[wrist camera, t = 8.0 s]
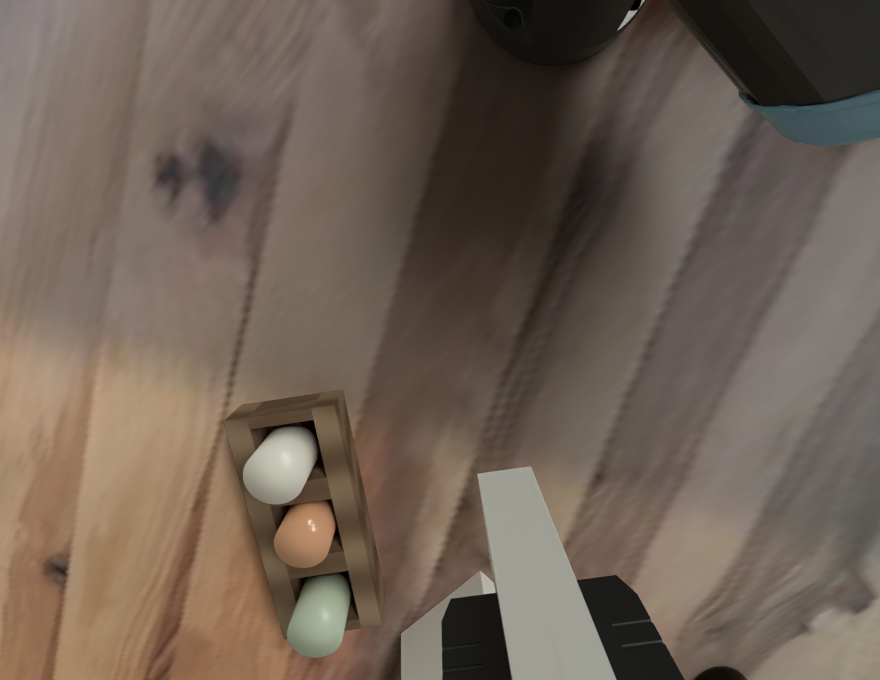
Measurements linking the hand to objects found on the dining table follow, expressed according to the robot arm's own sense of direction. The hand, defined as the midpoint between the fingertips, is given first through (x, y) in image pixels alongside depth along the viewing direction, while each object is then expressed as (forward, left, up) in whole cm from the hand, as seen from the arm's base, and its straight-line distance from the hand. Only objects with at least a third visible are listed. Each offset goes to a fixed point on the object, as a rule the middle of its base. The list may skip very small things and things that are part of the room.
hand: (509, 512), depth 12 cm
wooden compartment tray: (+17, -16, -30) cm, 38 cm away
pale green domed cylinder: (+25, -16, -27) cm, 40 cm away
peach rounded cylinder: (+17, -16, -29) cm, 37 cm away
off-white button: (+9, -16, -27) cm, 33 cm away
